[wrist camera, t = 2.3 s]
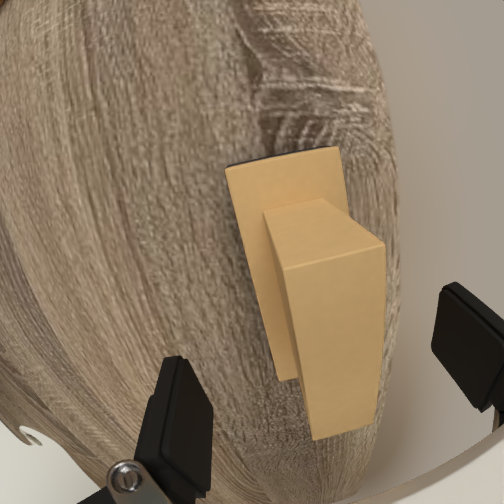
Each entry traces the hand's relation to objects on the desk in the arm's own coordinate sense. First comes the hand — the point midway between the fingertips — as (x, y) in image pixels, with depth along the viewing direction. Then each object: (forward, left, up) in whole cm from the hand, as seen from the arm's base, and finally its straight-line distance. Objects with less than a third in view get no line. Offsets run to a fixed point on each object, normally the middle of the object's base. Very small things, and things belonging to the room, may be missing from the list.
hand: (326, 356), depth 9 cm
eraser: (0, 0, -6) cm, 6 cm away
